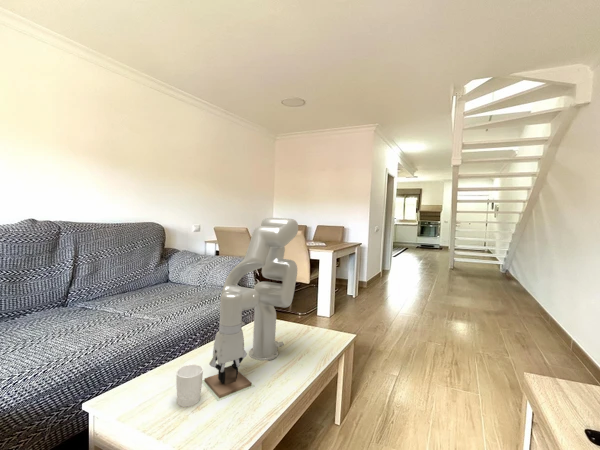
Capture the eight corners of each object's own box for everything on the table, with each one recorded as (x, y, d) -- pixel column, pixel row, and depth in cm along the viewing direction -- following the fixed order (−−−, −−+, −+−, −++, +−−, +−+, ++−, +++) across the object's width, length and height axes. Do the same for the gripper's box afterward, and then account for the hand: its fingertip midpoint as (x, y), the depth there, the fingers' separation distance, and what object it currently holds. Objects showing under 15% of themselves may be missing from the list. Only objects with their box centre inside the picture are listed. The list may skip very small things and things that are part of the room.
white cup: (192, 412, 87) (194, 379, 86) (169, 407, 88) (170, 375, 88) (206, 396, 94) (207, 366, 94) (184, 392, 96) (186, 362, 96)
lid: (234, 370, 110) (235, 357, 110) (251, 385, 101) (252, 371, 101) (204, 381, 102) (204, 367, 102) (219, 398, 93) (220, 383, 93)
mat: (236, 370, 111) (236, 369, 111) (255, 387, 101) (255, 386, 100) (200, 382, 102) (200, 380, 102) (217, 402, 91) (217, 401, 91)
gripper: (245, 319, 109) (243, 367, 109) (202, 329, 98) (200, 382, 99) (256, 326, 103) (254, 376, 104) (212, 336, 93) (209, 392, 93)
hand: (228, 378), depth 101 cm, fingers closed on lid, 4 cm apart
